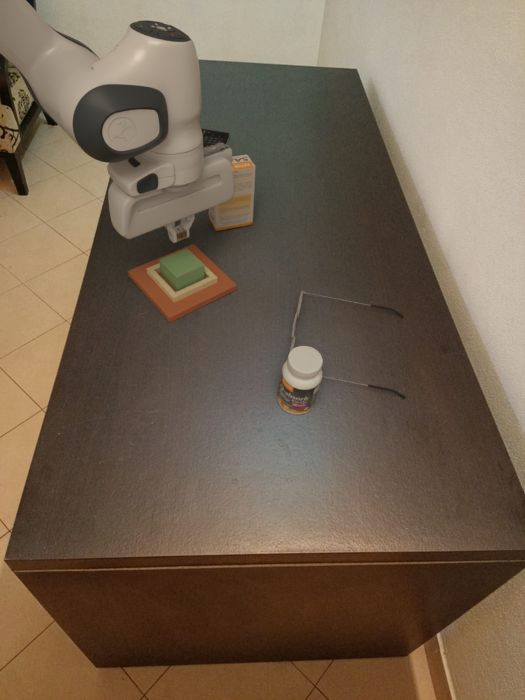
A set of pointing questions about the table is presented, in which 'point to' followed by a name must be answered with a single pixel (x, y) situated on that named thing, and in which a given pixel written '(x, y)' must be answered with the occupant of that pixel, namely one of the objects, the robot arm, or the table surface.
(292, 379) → the pill bottle
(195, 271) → the green block
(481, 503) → the table surface
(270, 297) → the table surface
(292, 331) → the eyeglasses
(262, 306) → the table surface
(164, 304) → the base pad
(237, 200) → the supplement box
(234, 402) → the table surface
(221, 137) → the calculator
